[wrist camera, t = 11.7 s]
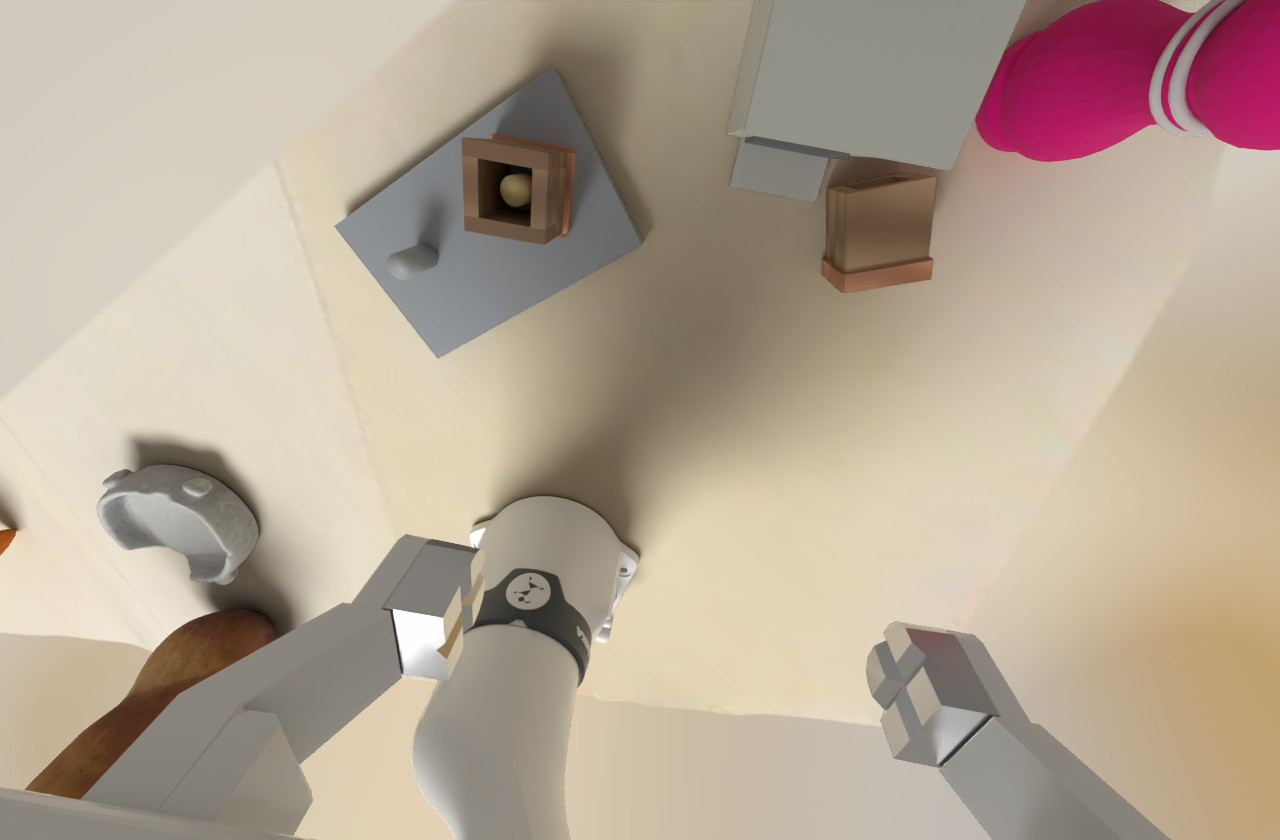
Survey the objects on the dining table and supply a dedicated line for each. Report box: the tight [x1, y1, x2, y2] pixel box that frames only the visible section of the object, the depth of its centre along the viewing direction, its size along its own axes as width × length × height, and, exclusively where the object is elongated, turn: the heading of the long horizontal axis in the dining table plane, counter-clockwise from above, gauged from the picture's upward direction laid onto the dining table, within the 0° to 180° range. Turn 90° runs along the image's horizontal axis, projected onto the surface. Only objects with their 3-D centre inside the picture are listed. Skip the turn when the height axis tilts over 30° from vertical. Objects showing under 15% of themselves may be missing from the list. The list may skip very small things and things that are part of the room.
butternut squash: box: [25, 608, 276, 799], centre depth 54 cm, size 14×13×25 cm
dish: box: [97, 464, 259, 585], centre depth 52 cm, size 14×14×5 cm
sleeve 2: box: [822, 173, 937, 293], centre depth 31 cm, size 6×6×5 cm
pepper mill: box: [976, 0, 1280, 162], centre depth 21 cm, size 7×7×20 cm
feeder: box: [726, 0, 1027, 202], centre depth 24 cm, size 11×9×15 cm
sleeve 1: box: [462, 133, 576, 245], centre depth 30 cm, size 6×6×6 cm
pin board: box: [334, 66, 643, 358], centre depth 34 cm, size 12×20×6 cm, turn 119°
